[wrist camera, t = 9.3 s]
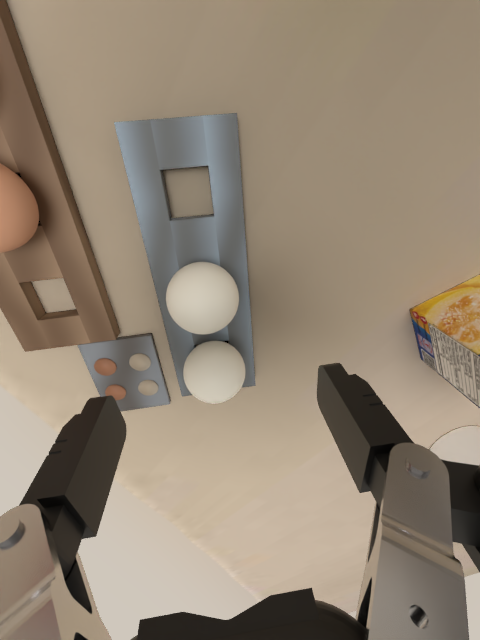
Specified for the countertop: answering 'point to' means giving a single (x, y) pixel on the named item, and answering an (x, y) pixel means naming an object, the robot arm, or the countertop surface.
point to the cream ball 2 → (214, 372)
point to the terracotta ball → (16, 211)
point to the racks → (156, 227)
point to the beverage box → (452, 336)
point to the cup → (459, 445)
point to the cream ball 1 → (202, 298)
